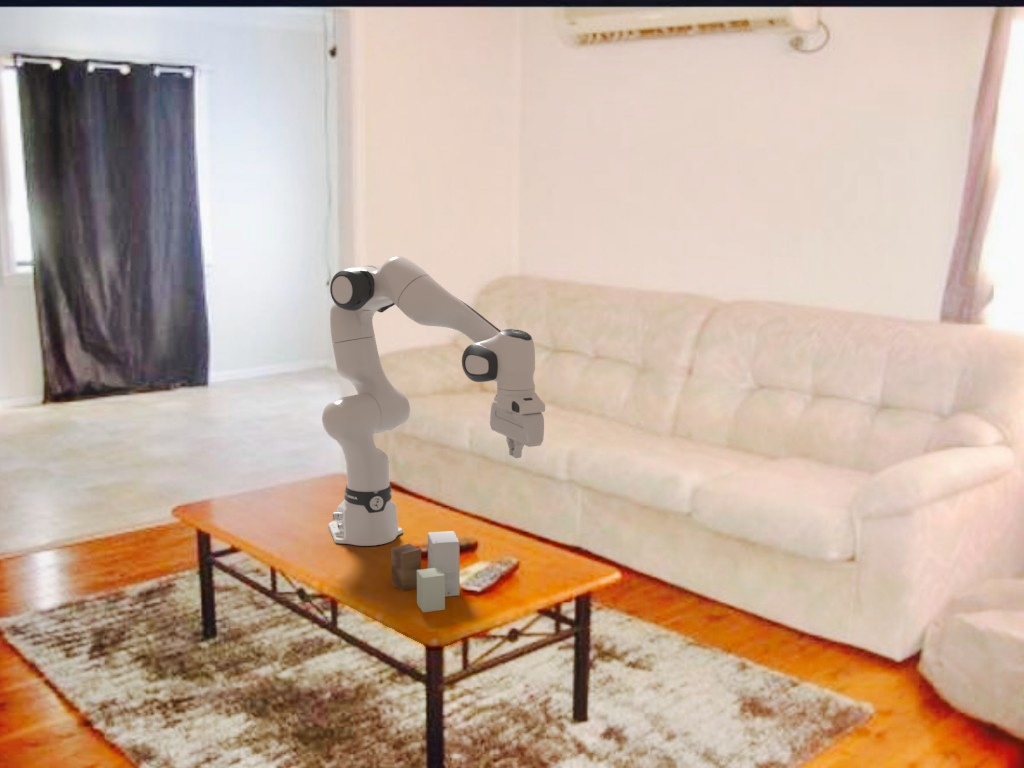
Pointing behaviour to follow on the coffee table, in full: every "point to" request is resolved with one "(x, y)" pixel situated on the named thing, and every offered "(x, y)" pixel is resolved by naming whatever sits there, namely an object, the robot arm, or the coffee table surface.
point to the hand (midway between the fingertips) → (515, 456)
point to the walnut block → (405, 566)
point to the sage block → (430, 589)
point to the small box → (445, 558)
